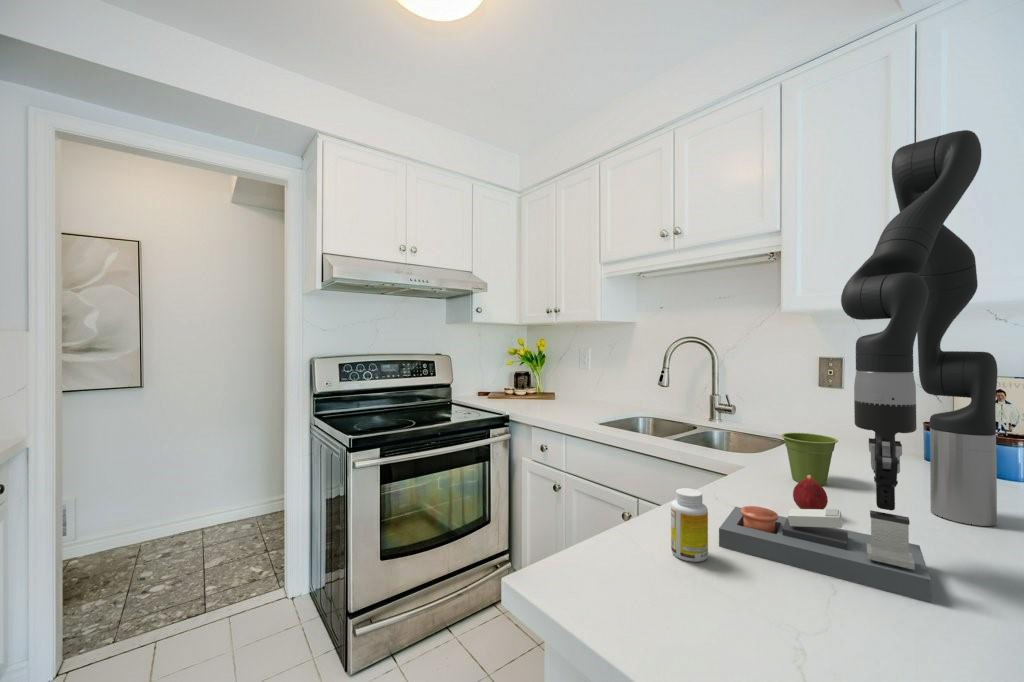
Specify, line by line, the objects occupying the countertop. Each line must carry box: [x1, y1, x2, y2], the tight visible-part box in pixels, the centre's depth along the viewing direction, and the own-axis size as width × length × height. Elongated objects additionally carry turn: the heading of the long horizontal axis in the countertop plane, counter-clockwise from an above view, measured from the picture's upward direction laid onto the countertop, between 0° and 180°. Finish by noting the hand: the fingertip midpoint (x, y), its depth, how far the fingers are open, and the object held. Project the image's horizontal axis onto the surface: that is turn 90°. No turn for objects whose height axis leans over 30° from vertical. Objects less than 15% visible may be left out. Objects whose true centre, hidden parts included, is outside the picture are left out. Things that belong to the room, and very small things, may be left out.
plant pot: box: [781, 432, 839, 486], centre depth 110 cm, size 12×12×11 cm
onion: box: [792, 475, 829, 510], centre depth 87 cm, size 6×6×8 cm
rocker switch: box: [787, 508, 844, 529], centre depth 71 cm, size 4×7×2 cm, turn 52°
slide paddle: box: [867, 509, 915, 570], centre depth 62 cm, size 4×5×6 cm
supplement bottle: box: [670, 487, 709, 563], centre depth 70 cm, size 6×6×10 cm
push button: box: [740, 505, 779, 534], centre depth 76 cm, size 6×6×4 cm
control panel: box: [718, 506, 932, 604], centre depth 71 cm, size 13×26×4 cm, turn 52°
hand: (885, 507), depth 69 cm, fingers closed
